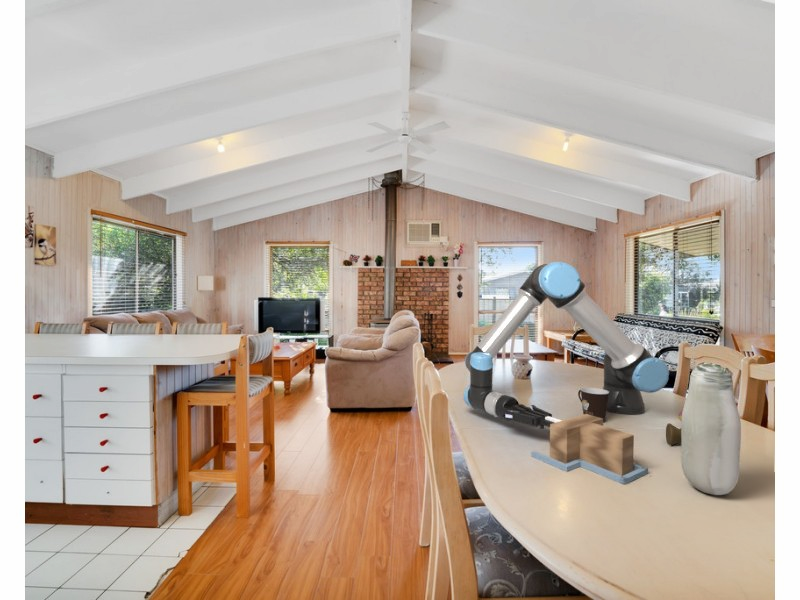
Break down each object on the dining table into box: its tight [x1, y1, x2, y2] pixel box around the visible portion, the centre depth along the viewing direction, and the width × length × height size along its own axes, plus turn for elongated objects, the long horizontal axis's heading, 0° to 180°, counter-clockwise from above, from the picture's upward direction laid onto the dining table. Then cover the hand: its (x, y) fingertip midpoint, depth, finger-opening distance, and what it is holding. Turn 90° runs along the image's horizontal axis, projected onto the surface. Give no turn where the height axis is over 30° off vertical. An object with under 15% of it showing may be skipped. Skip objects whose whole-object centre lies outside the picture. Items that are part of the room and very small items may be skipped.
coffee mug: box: [577, 387, 609, 424], centre depth 138 cm, size 12×9×10 cm
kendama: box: [665, 422, 682, 446], centre depth 111 cm, size 6×10×20 cm
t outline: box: [530, 450, 649, 485], centre depth 104 cm, size 22×21×1 cm
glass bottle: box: [680, 363, 742, 496], centre depth 89 cm, size 10×10×28 cm
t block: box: [549, 414, 635, 476], centre depth 104 cm, size 16×16×9 cm
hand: (566, 427), depth 111 cm, fingers closed
